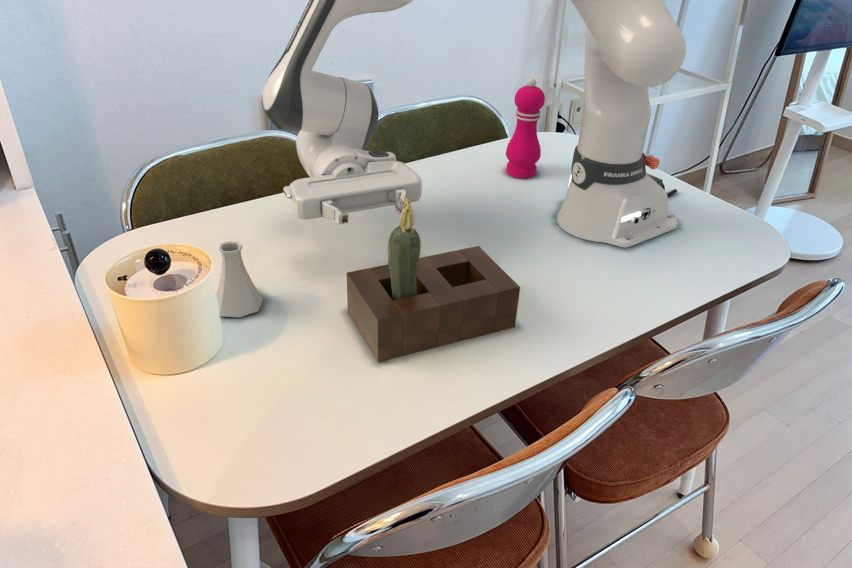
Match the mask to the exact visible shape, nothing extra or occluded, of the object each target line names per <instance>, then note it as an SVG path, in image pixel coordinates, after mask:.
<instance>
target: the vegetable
mask: <svg viewBox="0 0 852 568" xmlns="http://www.w3.org/2000/svg"><path fill="white" fill-rule="evenodd" d="M403 199H404V205H403V207H402V211H401V214H399V218H398V220H399V225H397V226H396V227H395V228H394V229H393V230H392V231H391V233H390V234H389V237H388V243H387V264H388V265H389V271H390V278H391V288H392V300H397V299H402V298H406V297H411V296H415V295H418V294H417V287H416V275H417V268H418V262H419V258H420V256H421V246H422V245H421V244H422V243H421V238H420V234H419V233H418V231H417V230H416V229H415V228H414V225H415V222H416V220H415V215H414V211H413V209H412V205H411V202H409V200H408V199H407V198H405V197H404V198H403Z"/></svg>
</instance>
